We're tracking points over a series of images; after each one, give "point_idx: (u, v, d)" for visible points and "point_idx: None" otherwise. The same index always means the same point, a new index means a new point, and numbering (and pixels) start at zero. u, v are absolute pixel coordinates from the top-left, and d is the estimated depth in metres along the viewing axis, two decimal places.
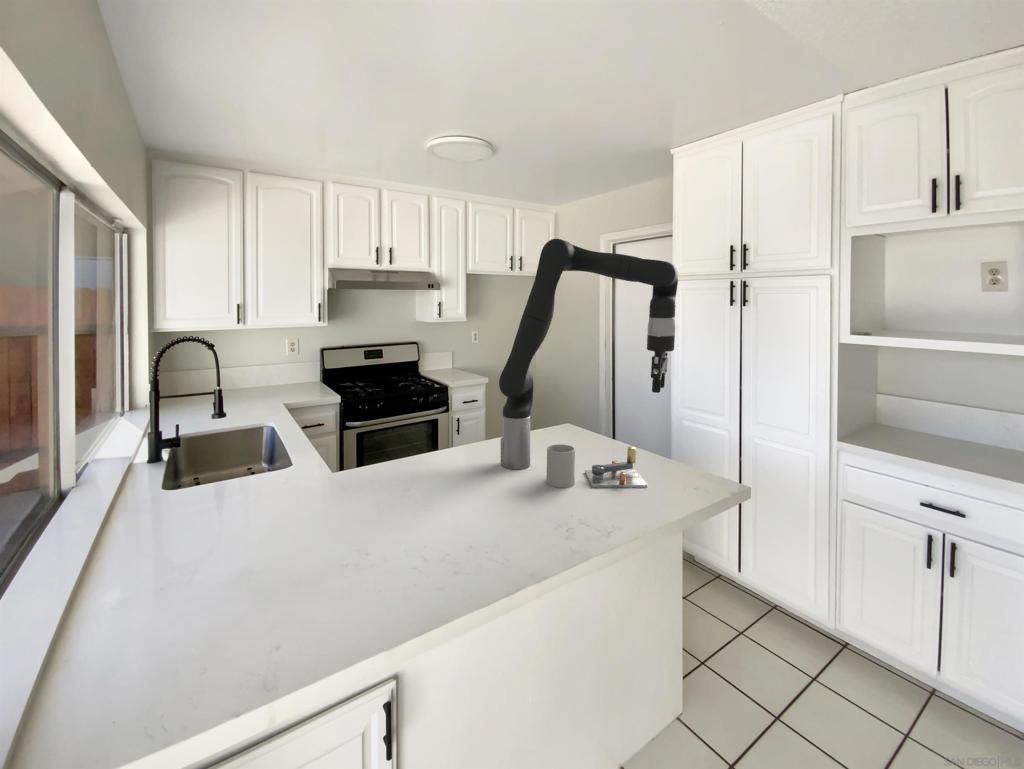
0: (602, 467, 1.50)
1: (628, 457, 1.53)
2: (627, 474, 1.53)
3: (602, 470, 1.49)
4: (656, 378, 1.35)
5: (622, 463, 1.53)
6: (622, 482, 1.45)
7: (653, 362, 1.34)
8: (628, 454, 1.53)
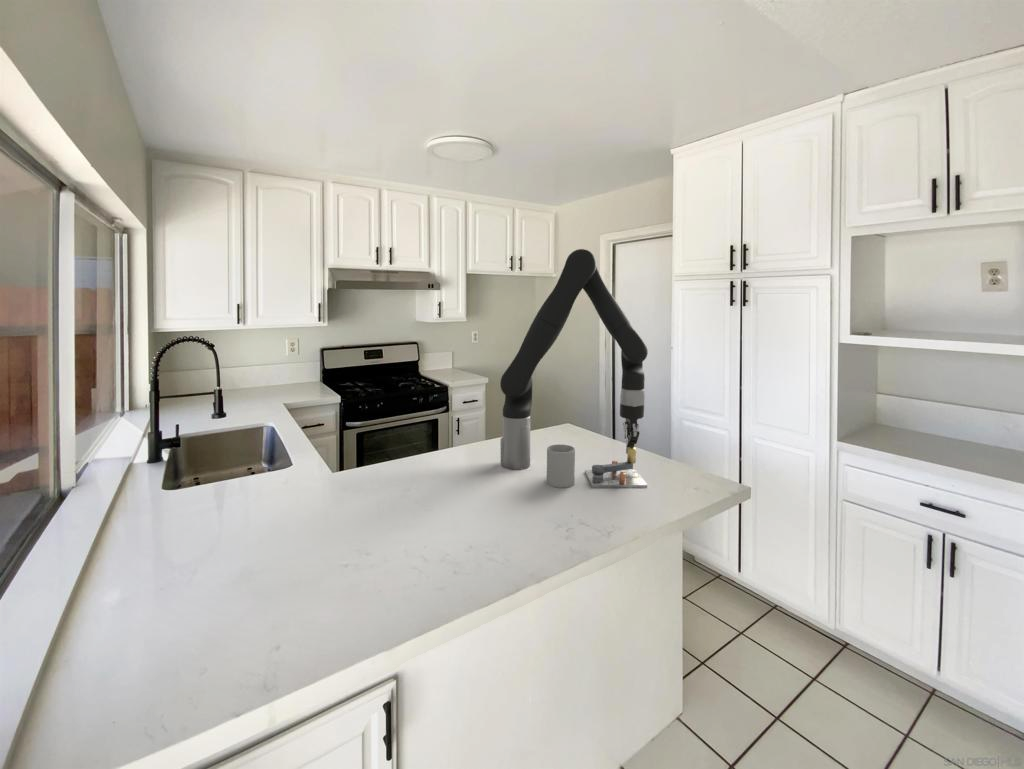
0: (602, 467, 1.50)
1: (628, 457, 1.53)
2: (627, 474, 1.53)
3: (602, 470, 1.49)
4: (632, 443, 1.55)
5: (622, 463, 1.53)
6: (622, 482, 1.45)
7: (632, 436, 1.51)
8: (628, 454, 1.53)
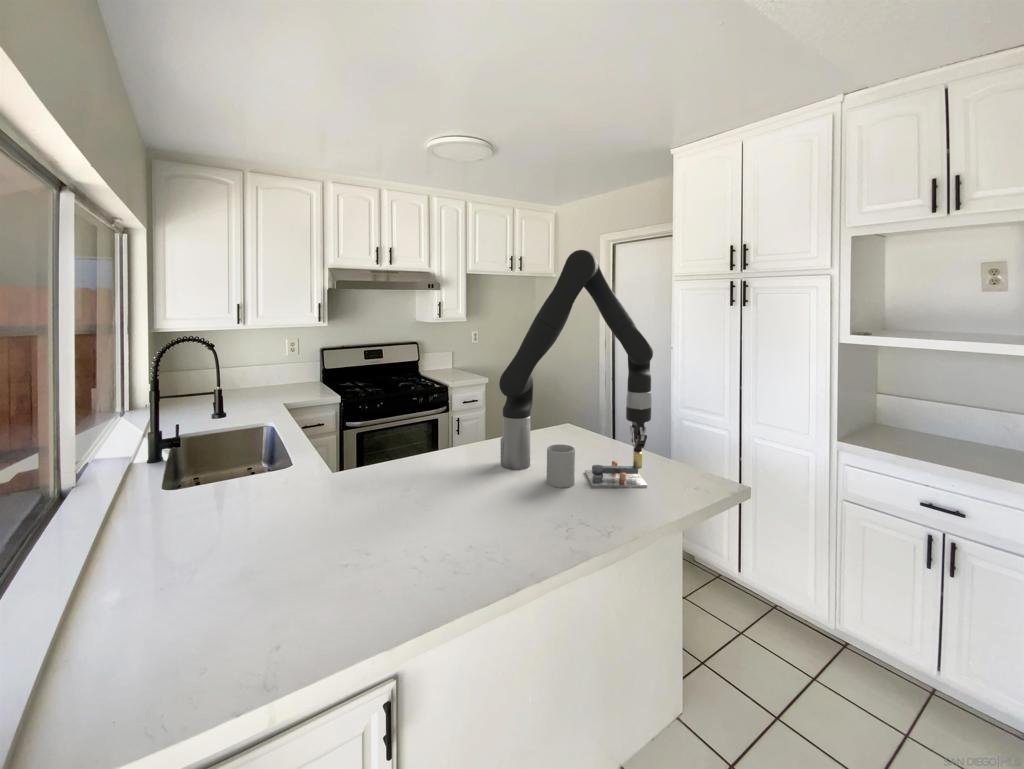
0: (601, 467, 1.49)
1: (633, 461, 1.49)
2: (627, 474, 1.53)
3: (600, 470, 1.49)
4: (640, 447, 1.50)
5: (626, 467, 1.50)
6: (622, 482, 1.45)
7: (639, 440, 1.47)
8: (633, 458, 1.49)
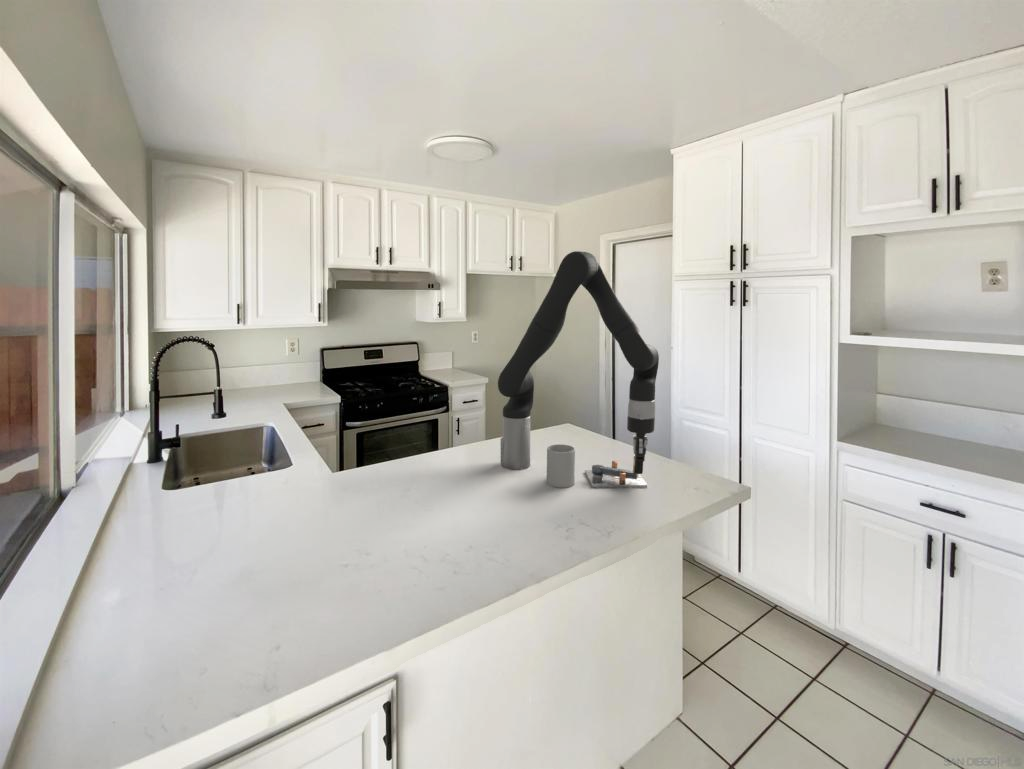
0: (600, 468, 1.49)
1: (633, 466, 1.45)
2: None
3: (597, 470, 1.49)
4: (640, 461, 1.38)
5: (626, 471, 1.46)
6: (622, 482, 1.45)
7: (637, 453, 1.35)
8: (633, 463, 1.45)
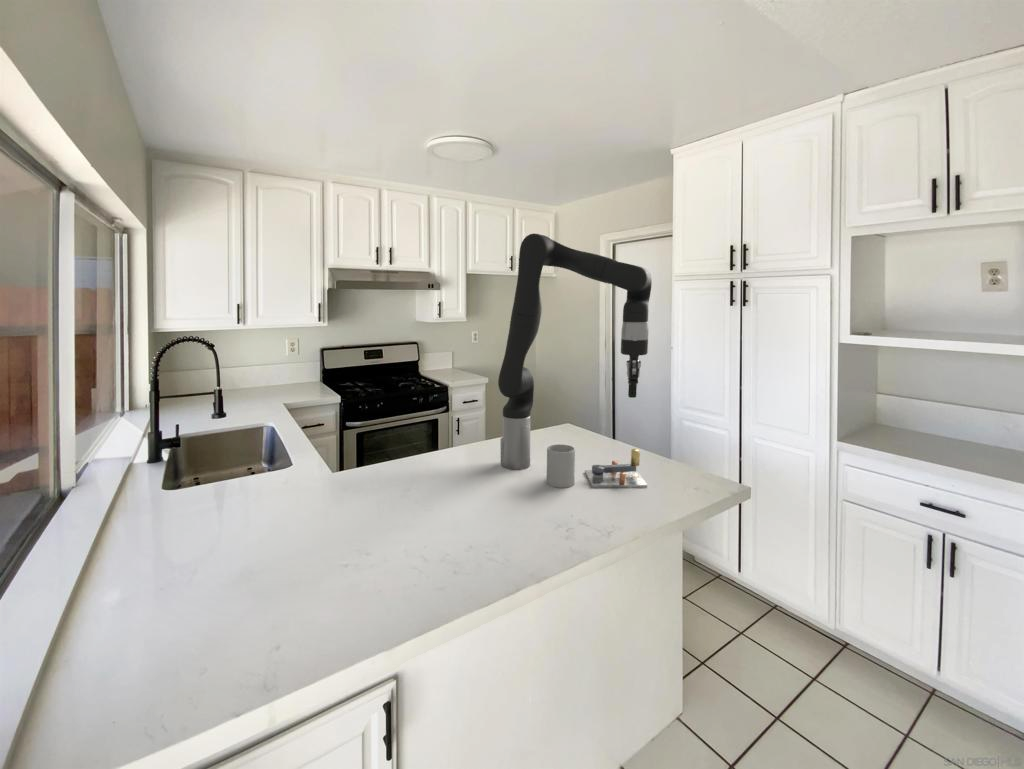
0: (602, 467, 1.49)
1: (631, 459, 1.51)
2: (627, 474, 1.53)
3: (601, 470, 1.49)
4: (633, 383, 1.39)
5: (625, 465, 1.52)
6: (622, 482, 1.45)
7: (631, 374, 1.36)
8: (631, 456, 1.51)
